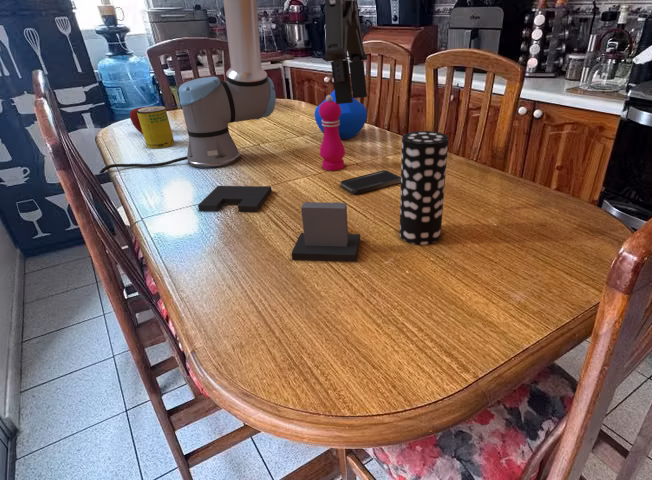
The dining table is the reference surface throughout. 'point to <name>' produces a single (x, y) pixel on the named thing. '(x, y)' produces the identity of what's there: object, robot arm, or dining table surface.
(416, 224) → the spotted tube
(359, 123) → the vase
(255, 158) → the dining table surface
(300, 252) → the tab pad
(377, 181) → the phone
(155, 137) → the yellow can
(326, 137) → the pepper mill
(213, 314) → the dining table surface
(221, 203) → the notch pad
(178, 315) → the dining table surface
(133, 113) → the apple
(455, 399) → the dining table surface
